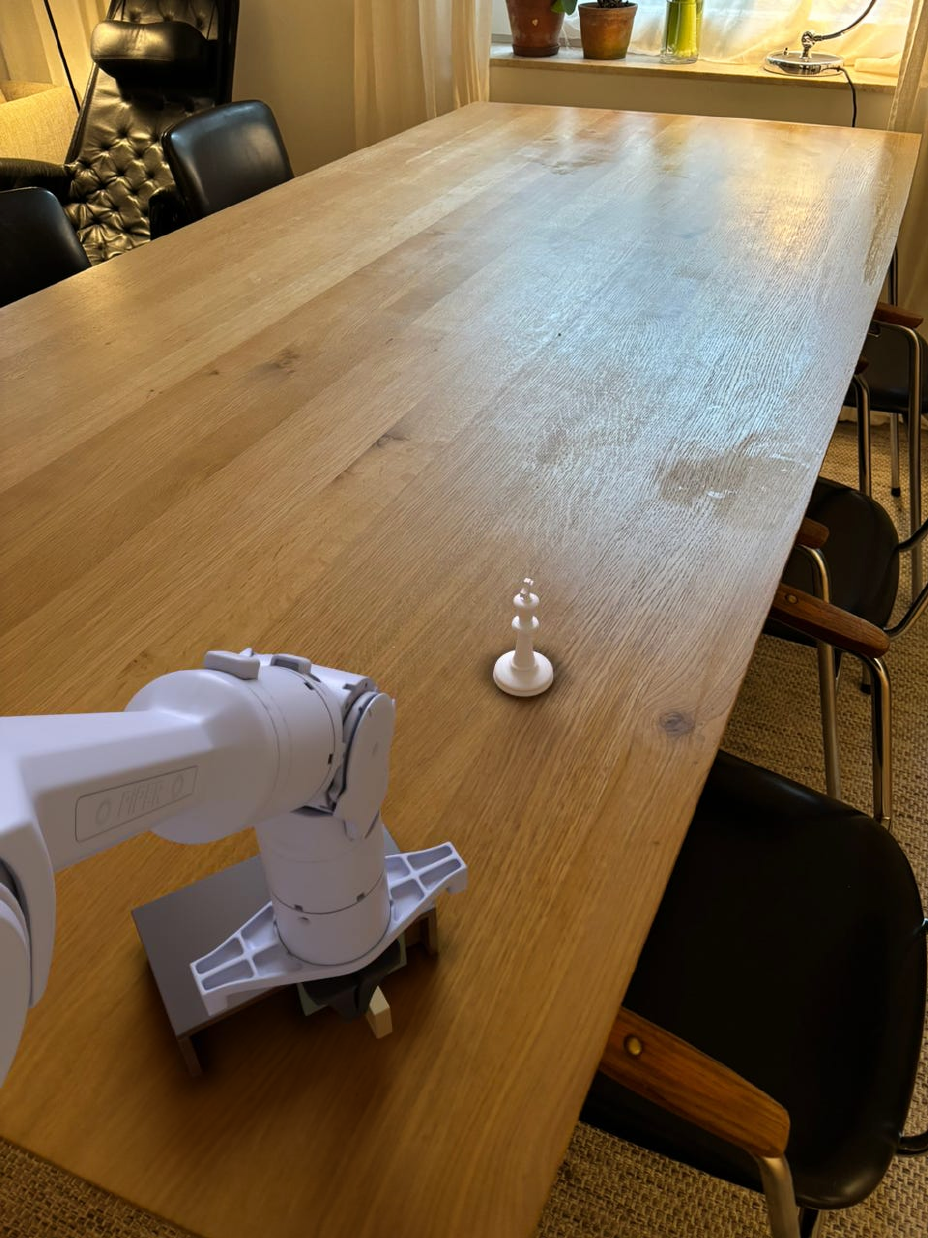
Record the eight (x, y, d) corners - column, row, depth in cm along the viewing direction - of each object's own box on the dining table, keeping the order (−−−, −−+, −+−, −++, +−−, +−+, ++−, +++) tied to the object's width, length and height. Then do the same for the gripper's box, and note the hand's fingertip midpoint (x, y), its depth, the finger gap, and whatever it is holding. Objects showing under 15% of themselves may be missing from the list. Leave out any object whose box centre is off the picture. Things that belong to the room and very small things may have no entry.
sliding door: (333, 1075, 57) (326, 1041, 54) (302, 1008, 60) (294, 974, 57) (437, 1018, 59) (435, 983, 57) (402, 957, 62) (399, 922, 60)
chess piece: (561, 665, 82) (569, 570, 76) (540, 704, 79) (545, 608, 72) (507, 648, 84) (509, 554, 77) (483, 686, 81) (484, 590, 74)
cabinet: (193, 1079, 57) (175, 1037, 53) (148, 955, 63) (130, 910, 59) (438, 952, 63) (436, 907, 59) (376, 849, 69) (371, 803, 65)
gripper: (420, 749, 53) (428, 896, 62) (151, 865, 47) (203, 1007, 56) (488, 844, 48) (486, 988, 57) (198, 984, 43) (246, 1119, 52)
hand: (349, 1004), depth 56 cm, fingers closed
